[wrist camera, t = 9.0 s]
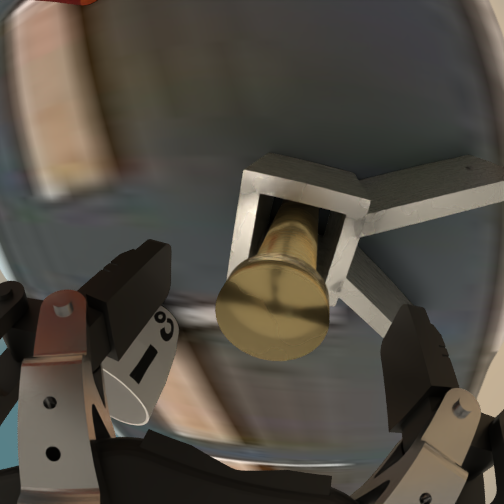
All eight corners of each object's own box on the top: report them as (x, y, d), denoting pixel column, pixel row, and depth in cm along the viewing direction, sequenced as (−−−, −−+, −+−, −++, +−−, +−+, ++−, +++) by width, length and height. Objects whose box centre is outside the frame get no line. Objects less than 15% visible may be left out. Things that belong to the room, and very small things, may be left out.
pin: (282, 173, 20) (222, 254, 8) (331, 185, 19) (345, 286, 8) (272, 219, 21) (210, 344, 10) (319, 231, 21) (310, 370, 9)
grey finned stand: (279, 95, 17) (258, 82, 11) (474, 157, 16) (530, 179, 9) (246, 276, 24) (219, 334, 17) (411, 316, 22) (430, 378, 16)
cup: (202, 312, 26) (153, 396, 17) (184, 363, 30) (145, 436, 21) (126, 274, 26) (59, 339, 18) (120, 330, 30) (71, 391, 22)
